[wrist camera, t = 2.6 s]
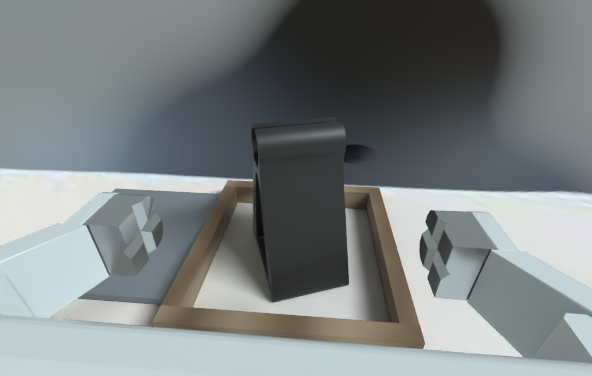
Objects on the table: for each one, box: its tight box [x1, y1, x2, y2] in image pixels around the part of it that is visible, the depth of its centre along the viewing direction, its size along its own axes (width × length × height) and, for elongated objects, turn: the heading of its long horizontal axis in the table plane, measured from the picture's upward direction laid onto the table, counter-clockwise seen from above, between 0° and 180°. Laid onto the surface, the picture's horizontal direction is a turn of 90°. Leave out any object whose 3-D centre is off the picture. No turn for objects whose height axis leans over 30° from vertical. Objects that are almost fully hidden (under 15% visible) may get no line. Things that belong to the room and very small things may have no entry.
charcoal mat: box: [79, 189, 220, 304], centre depth 28 cm, size 12×14×1 cm
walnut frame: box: [152, 180, 425, 349], centre depth 26 cm, size 16×17×2 cm
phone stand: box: [251, 117, 349, 302], centre depth 24 cm, size 9×6×12 cm, turn 16°
